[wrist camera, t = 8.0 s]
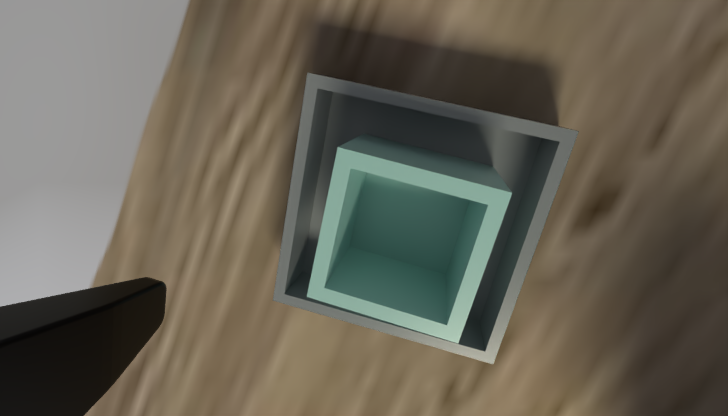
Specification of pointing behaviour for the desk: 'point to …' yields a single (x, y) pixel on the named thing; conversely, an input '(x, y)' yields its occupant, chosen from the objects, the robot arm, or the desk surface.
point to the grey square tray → (440, 134)
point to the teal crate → (407, 234)
